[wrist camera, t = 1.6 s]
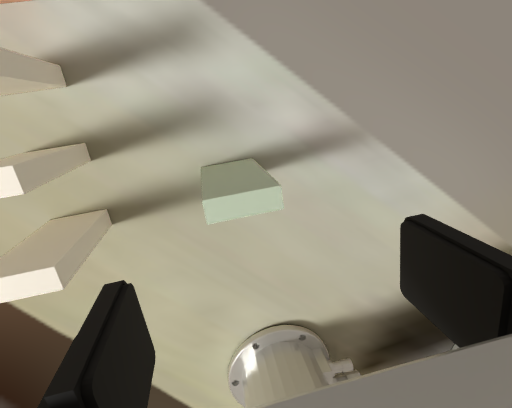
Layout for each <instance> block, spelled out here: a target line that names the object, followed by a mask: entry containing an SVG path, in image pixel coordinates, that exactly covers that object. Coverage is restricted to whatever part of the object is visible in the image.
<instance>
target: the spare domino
mask: <svg viewBox="0 0 512 408" xmlns="http://www.w3.org/2000/svg"><path fill="white" fill-rule="evenodd" d="M201 189H202V204H203V208H204V213H205V218H206V222H207V225H208V224H213V223H218V222H223V221H228V220H233V219H238V218H243V217H247V216H252V215H257V214H262V213H267V212H272V211H277V210H282V209H284V204H283V196H282V188H281V185H280V184H279V183H278V182H277V181H276V180H275V179H274V178H273V177H272V176H271V175H270V174H269V173H267V172H266V171H265V170H264V169H263V168H262V167H261V166H260V165H259V164H258V163H257V162H256V161H255V160H254V159H253V158H251V159H245V160H239V161H234V162H228V163H223V164H217V165H212V166H206V167H201Z"/></svg>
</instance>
